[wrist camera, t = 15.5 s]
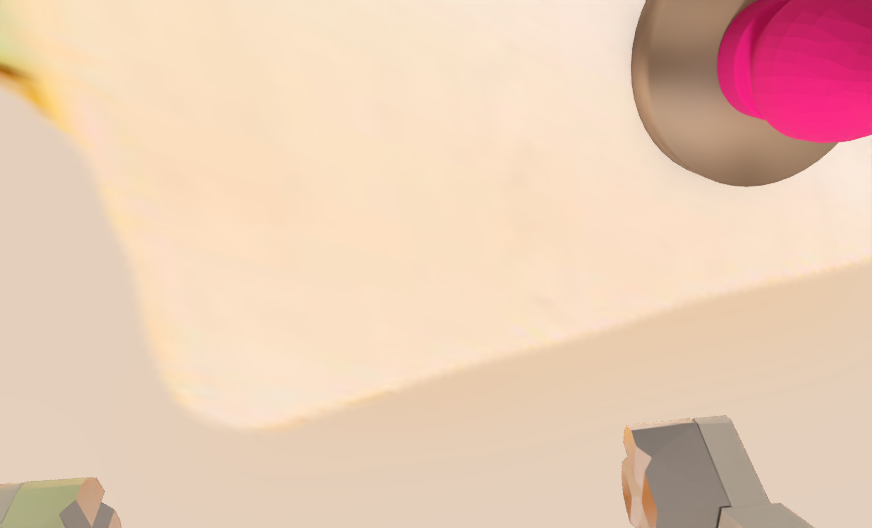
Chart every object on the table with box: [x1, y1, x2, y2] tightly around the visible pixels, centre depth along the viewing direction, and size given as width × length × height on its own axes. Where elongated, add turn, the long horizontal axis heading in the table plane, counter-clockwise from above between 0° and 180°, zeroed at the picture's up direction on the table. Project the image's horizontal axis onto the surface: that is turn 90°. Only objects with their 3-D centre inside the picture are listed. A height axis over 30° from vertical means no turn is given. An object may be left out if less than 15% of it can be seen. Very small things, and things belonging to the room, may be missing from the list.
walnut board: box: [631, 0, 838, 187], centre depth 42 cm, size 14×14×2 cm
